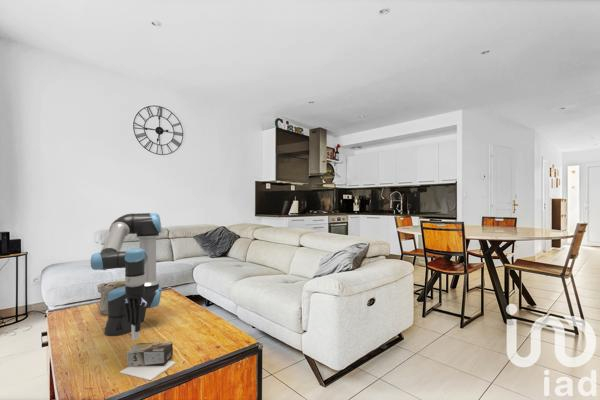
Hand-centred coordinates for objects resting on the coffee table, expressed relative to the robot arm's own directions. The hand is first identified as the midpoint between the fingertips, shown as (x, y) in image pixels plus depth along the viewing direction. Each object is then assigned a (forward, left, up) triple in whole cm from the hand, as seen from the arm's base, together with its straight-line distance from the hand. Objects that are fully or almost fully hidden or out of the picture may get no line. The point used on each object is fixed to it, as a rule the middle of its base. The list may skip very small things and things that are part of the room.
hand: (135, 338), depth 131 cm
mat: (+7, 0, -12) cm, 14 cm away
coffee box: (-3, +1, -8) cm, 9 cm away
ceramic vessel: (-67, +46, -12) cm, 82 cm away
